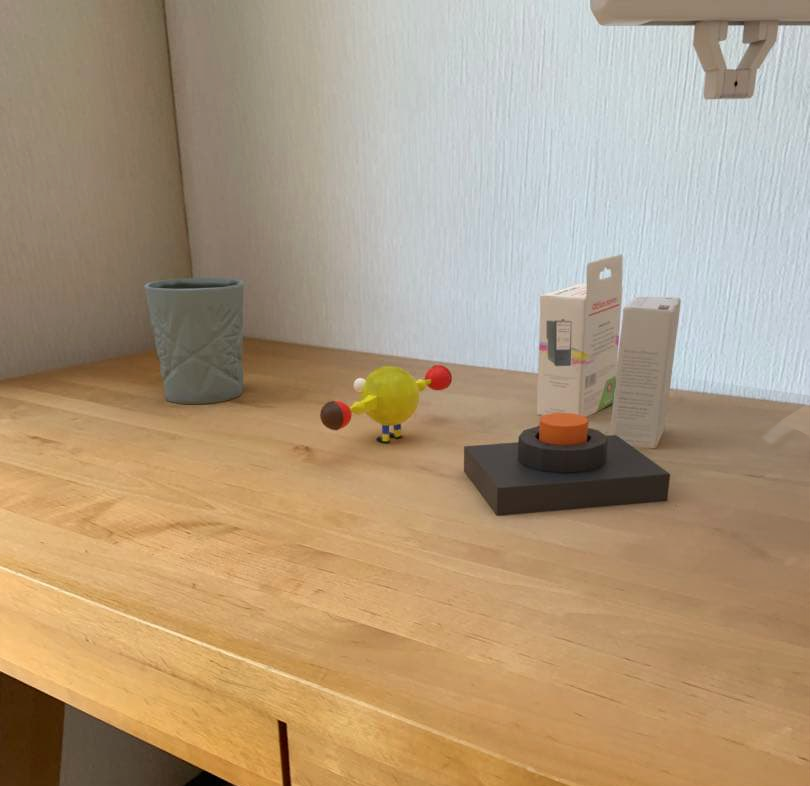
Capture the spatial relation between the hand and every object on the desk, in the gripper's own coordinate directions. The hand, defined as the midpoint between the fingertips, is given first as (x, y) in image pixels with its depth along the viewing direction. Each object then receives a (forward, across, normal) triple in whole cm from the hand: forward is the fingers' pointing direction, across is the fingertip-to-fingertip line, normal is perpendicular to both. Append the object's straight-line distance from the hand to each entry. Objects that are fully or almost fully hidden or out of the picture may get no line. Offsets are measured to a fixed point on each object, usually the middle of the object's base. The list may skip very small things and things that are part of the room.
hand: (727, 99), depth 62 cm
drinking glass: (+27, +40, -34) cm, 59 cm away
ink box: (+27, +3, -18) cm, 33 cm away
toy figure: (+27, +23, -12) cm, 38 cm away
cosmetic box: (+27, +1, -7) cm, 28 cm away
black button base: (+27, +12, +3) cm, 30 cm away
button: (+23, +12, +3) cm, 26 cm away
